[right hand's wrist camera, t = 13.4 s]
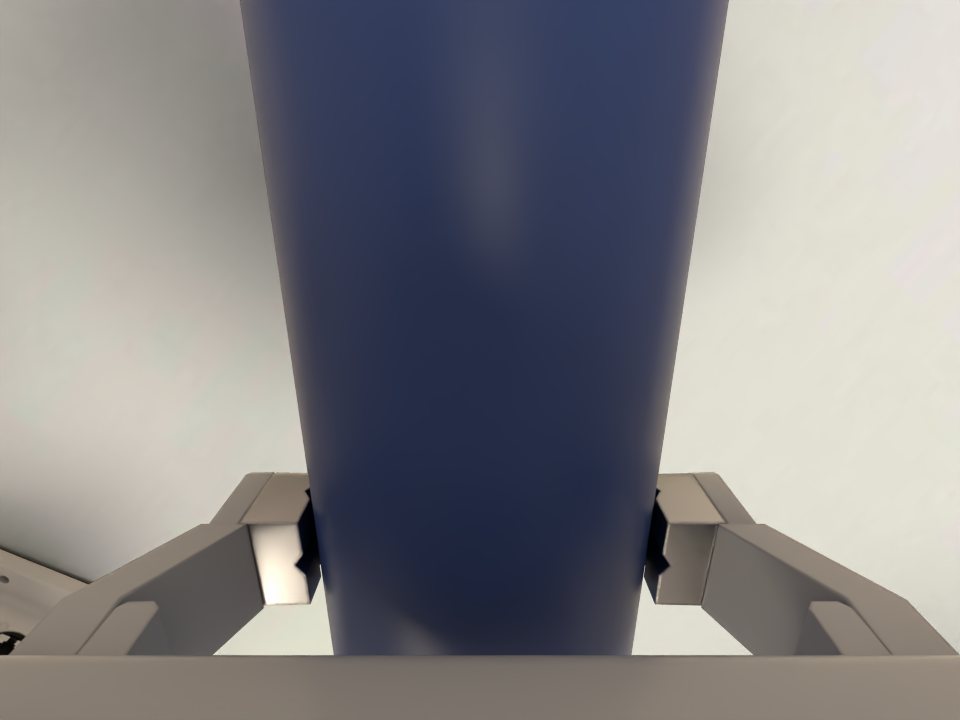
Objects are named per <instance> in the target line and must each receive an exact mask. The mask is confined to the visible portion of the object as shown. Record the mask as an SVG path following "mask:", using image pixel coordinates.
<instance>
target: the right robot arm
mask: <svg viewBox="0 0 960 720" xmlns="http://www.w3.org/2000/svg"><path fill="white" fill-rule="evenodd" d="M320 564H321V562H320V555H319V548H318V541H317V534H316V527H315V520H314V513H313V506H312V499H311V492H310V485H309V478H308V473H274V472H254V473H249V474H246V475H245V477H244V478H243V479H242V481H241V482H240V483H239V485H238V486H237V487H236V489H235V490H234V491H233V493H232V494H231V495H230V497H229V498H228V499H227V501H226V502H225V503H224V505H223V506H222V507H221V509H220V510H219V511H218V513H217V514H216V515H215V517H214V518H213V519H212V521H211V522H210V523H209V524H200V525H198V526H196V527H195V528H193V529H191V530H189V531H187V532H185V533H183V534H182V535H180V536H178V537H176V538H174V539H172V540H170V541H169V542H167V543H165V544H163V545H161V546H159V547H157V548H156V549H154V550H152V551H150V552H148V553H146V554H144V555H143V556H141V557H139V558H137V559H135V560H133V561H131V562H130V563H128V564H126V565H124V566H122V567H120V568H118V569H117V570H115V571H113V572H111V573H109V574H107V575H105V576H103V577H102V578H100V579H98V580H96V581H94V582H92V583H90V584H86V583H84V582H81V581H79V580H76V579H74V578H71V577H69V576H66V575H64V574H61V573H59V572H56V571H54V570H51V569H49V568H46V567H44V566H41V565H39V564H36V563H34V562H31V561H29V560H26V559H24V558H21V557H19V556H16V555H14V554H11V553H9V552H6V551H4V550H1V549H0V720H960V655H959V654H958V653H957V652H956V651H955V650H954V649H953V648H952V646H951V645H950V644H949V643H948V642H947V641H946V640H945V639H944V638H943V637H942V636H941V635H940V634H939V633H938V632H937V631H936V630H935V629H934V628H933V627H932V626H931V625H930V624H929V623H928V622H927V621H926V620H925V618H924V617H923V616H922V615H921V614H920V613H919V612H918V611H917V610H916V609H915V608H914V607H913V606H912V605H911V604H910V603H909V602H908V601H907V600H906V599H904V598H902V597H900V596H898V595H897V594H895V593H893V592H891V591H889V590H887V589H885V588H883V587H882V586H880V585H878V584H876V583H874V582H872V581H870V580H868V579H867V578H865V577H863V576H861V575H859V574H857V573H855V572H854V571H852V570H850V569H848V568H846V567H844V566H842V565H840V564H839V563H837V562H835V561H833V560H831V559H829V558H827V557H825V556H824V555H822V554H820V553H818V552H816V551H814V550H812V549H810V548H809V547H807V546H805V545H803V544H801V543H799V542H797V541H795V540H794V539H792V538H790V537H788V536H786V535H784V534H782V533H781V532H779V531H777V530H775V529H773V528H771V527H769V526H767V525H766V524H756V523H755V521H754V520H753V519H752V517H751V516H750V515H749V513H748V512H747V511H746V510H745V508H744V507H743V506H742V504H741V503H740V502H739V500H738V499H737V498H736V496H735V495H734V494H733V493H732V491H731V490H730V489H729V487H728V486H727V485H726V483H725V482H724V481H723V480H722V478H721V477H720V476H719V475H718V474H716V473H714V472H701V473H680V474H658V479H657V486H656V493H655V499H654V506H653V513H652V519H651V526H650V533H649V540H648V546H647V553H646V560H645V572H644V578H645V581H646V583H647V585H648V588H649V590H650V593H651V595H652V598H653V600H654V603H655V604H666V605H701V606H702V607H701V608H702V609H703V610H705V611H706V612H707V613H708V614H709V615H710V616H711V617H712V618H713V619H714V620H716V621H717V622H718V623H719V624H720V625H721V626H722V627H723V628H724V629H726V630H727V631H728V632H729V633H730V634H731V635H732V636H733V637H734V638H735V639H737V640H738V641H739V642H740V643H741V644H742V645H743V646H744V647H745V648H746V649H748V650H749V651H750V652H751V653H752V654H753V655H213V654H214V653H215V652H216V651H217V650H218V649H219V648H221V647H222V646H223V645H224V644H225V643H226V642H227V641H228V640H229V639H230V638H231V637H233V636H234V635H235V634H236V633H237V632H238V631H239V630H240V629H241V628H242V627H244V626H245V625H246V624H247V623H248V622H249V621H250V620H251V619H252V618H253V617H254V616H256V615H257V614H258V613H259V612H260V611H261V610H262V609H263V608H264V607H263V606H264V605H298V604H311V601H312V599H313V596H314V593H315V591H316V588H317V586H318V583H319V580H320V578H321V572H320Z"/></svg>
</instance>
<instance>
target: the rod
mask: <svg viewBox="0 0 960 720" xmlns="http://www.w3.org/2000/svg"><path fill="white" fill-rule="evenodd" d="M728 2H729V0H240V5H241V12H242V18H243V25H244V32H245V39H246V46H247V53H248V60H249V67H250V74H251V81H252V88H253V95H254V102H255V109H256V116H257V123H258V130H259V137H260V144H261V151H262V158H263V165H264V172H265V179H266V186H267V193H268V200H269V207H270V214H271V220H272V227H273V234H274V241H275V248H276V255H277V262H278V269H279V276H280V283H281V290H282V297H283V304H284V311H285V318H286V325H287V332H288V339H289V346H290V353H291V360H292V367H293V374H294V381H295V388H296V395H297V402H298V409H299V416H300V422H301V429H302V436H303V443H304V450H305V457H306V464H307V471H308V478H309V485H310V492H311V499H312V506H313V513H314V520H315V527H316V534H317V541H318V548H319V555H320V562H321V569H322V576H323V583H324V590H325V597H326V604H327V611H328V617H329V624H330V631H331V638H332V645H333V652H334V655H631V654H632V647H633V640H634V634H635V627H636V620H637V614H638V607H639V600H640V593H641V587H642V580H643V573H644V566H645V560H646V553H647V546H648V540H649V533H650V526H651V519H652V513H653V506H654V499H655V493H656V486H657V479H658V472H659V466H660V459H661V452H662V446H663V439H664V432H665V425H666V419H667V412H668V405H669V399H670V392H671V385H672V378H673V372H674V365H675V358H676V351H677V345H678V338H679V331H680V325H681V318H682V311H683V304H684V298H685V291H686V284H687V278H688V271H689V264H690V257H691V251H692V244H693V237H694V231H695V224H696V217H697V210H698V204H699V197H700V190H701V184H702V177H703V170H704V163H705V157H706V150H707V143H708V136H709V130H710V123H711V116H712V110H713V103H714V96H715V89H716V83H717V76H718V69H719V63H720V56H721V49H722V42H723V36H724V29H725V22H726V16H727V9H728Z"/></svg>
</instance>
